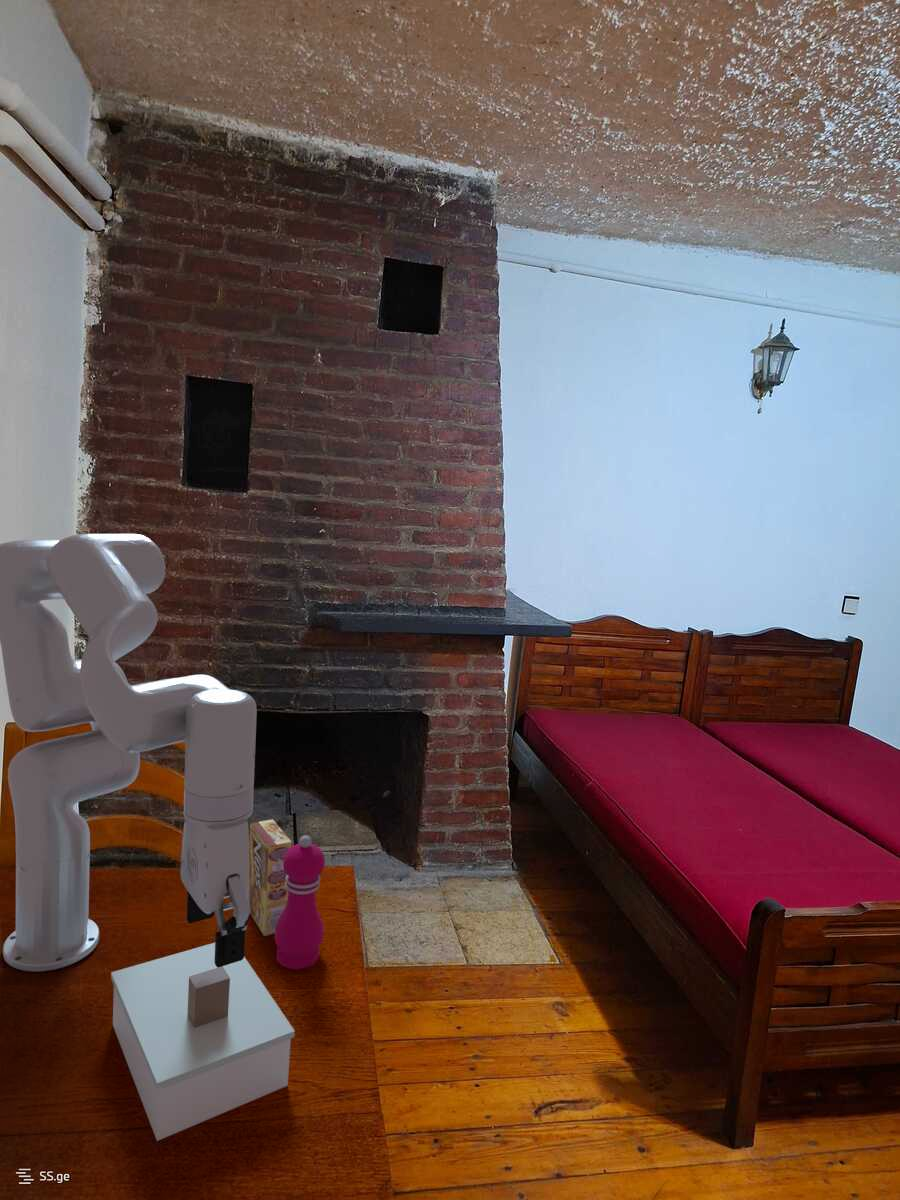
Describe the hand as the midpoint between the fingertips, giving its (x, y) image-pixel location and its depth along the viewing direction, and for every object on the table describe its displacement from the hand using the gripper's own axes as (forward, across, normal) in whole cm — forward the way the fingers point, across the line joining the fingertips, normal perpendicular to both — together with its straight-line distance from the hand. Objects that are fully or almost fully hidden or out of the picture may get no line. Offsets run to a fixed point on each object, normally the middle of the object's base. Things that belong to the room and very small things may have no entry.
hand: (214, 940), depth 89 cm
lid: (+11, -4, 0) cm, 11 cm away
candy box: (+18, -28, +19) cm, 38 cm away
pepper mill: (+18, -16, +19) cm, 30 cm away
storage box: (+18, -4, 0) cm, 19 cm away
